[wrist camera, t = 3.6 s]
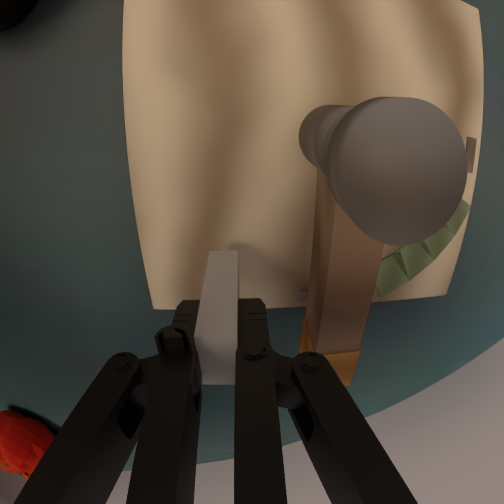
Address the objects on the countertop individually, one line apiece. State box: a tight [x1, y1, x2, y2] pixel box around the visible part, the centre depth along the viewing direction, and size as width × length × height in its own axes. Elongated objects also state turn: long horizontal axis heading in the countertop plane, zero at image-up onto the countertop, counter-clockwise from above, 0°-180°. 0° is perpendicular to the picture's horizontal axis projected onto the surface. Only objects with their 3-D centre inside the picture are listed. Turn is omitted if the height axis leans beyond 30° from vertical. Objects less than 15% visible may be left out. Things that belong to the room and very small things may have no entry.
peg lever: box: [299, 97, 467, 386], centre depth 14 cm, size 15×4×8 cm, turn 1°
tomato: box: [0, 410, 56, 481], centre depth 28 cm, size 14×13×10 cm
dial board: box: [123, 0, 483, 310], centre depth 16 cm, size 22×22×1 cm
